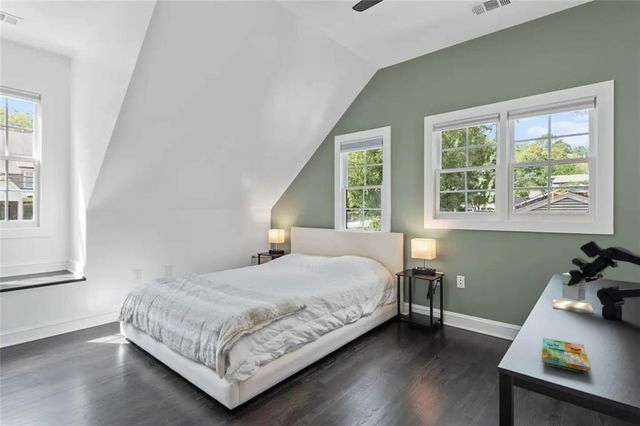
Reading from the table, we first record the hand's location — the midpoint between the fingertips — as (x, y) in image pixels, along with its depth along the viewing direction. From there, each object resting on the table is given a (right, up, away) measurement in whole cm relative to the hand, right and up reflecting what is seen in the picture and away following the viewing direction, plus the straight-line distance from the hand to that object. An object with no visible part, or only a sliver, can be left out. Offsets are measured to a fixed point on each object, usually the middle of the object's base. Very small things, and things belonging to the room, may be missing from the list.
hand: (572, 284), depth 167 cm
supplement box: (0, -7, 0) cm, 7 cm away
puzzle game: (-48, -13, -58) cm, 77 cm away
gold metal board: (+2, -12, +3) cm, 13 cm away
